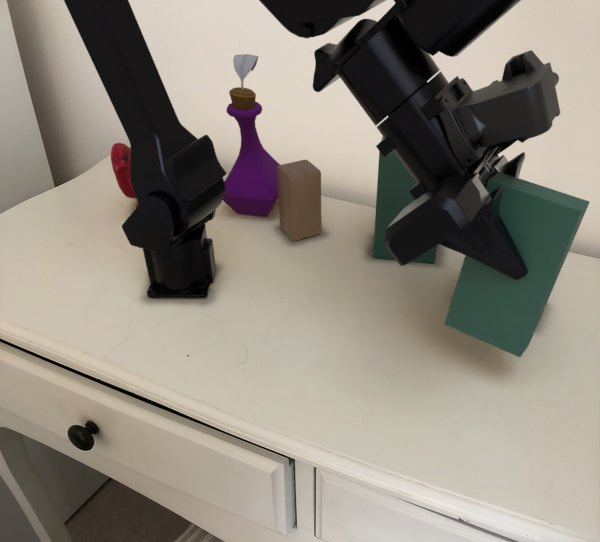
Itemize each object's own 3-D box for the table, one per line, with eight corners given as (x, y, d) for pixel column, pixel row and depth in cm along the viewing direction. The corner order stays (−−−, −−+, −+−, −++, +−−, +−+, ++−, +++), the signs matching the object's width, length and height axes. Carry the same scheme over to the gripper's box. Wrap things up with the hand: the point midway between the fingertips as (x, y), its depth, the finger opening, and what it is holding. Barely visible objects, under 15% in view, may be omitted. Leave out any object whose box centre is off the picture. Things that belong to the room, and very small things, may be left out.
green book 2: (443, 324, 56) (488, 179, 47) (453, 314, 57) (498, 171, 49) (520, 357, 53) (582, 210, 45) (528, 345, 55) (590, 201, 46)
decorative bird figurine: (118, 233, 79) (99, 152, 72) (143, 172, 92) (128, 99, 85) (142, 232, 79) (125, 152, 72) (163, 171, 92) (150, 98, 85)
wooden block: (307, 220, 80) (306, 157, 75) (322, 234, 78) (322, 170, 72) (278, 228, 79) (275, 164, 73) (292, 242, 76) (290, 177, 71)
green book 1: (372, 257, 73) (379, 144, 64) (375, 248, 75) (382, 135, 66) (434, 263, 72) (450, 148, 63) (435, 253, 74) (451, 140, 65)
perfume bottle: (276, 224, 80) (267, 67, 67) (219, 218, 81) (200, 64, 69) (291, 197, 85) (286, 47, 72) (238, 192, 86) (223, 44, 74)
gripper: (454, 59, 35) (606, 283, 38) (536, -12, 46) (646, 164, 50) (323, 173, 43) (458, 348, 47) (421, 88, 55) (522, 233, 58)
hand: (527, 267), depth 50 cm, fingers closed on green book 2, 2 cm apart
